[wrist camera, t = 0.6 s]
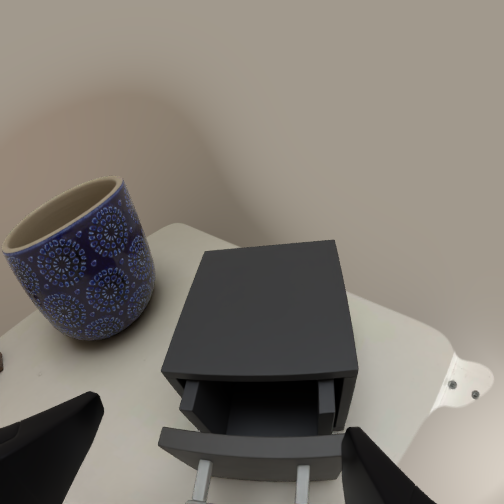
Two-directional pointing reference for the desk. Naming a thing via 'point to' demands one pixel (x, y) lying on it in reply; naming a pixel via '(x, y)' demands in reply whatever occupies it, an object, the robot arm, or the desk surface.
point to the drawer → (258, 433)
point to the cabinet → (267, 321)
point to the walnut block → (0, 364)
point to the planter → (84, 259)
